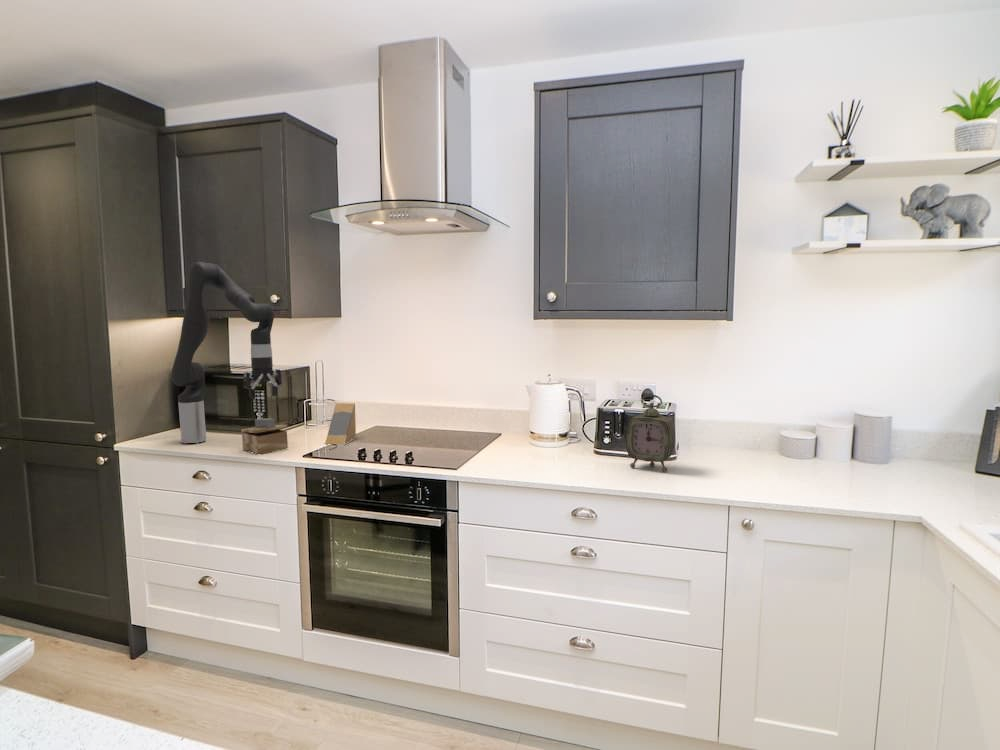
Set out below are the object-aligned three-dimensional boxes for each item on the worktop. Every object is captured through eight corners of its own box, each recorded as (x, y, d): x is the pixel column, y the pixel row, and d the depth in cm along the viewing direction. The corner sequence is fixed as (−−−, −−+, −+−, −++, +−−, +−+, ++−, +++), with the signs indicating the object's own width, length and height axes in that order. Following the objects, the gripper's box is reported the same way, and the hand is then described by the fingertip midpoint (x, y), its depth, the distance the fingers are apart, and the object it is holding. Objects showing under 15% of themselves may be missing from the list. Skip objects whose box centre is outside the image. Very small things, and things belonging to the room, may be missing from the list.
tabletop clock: (625, 468, 192) (626, 394, 189) (633, 462, 200) (634, 391, 197) (668, 474, 184) (670, 397, 182) (675, 467, 192) (677, 394, 189)
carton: (243, 450, 224) (242, 432, 223) (272, 444, 233) (270, 427, 232) (258, 454, 216) (257, 436, 215) (287, 448, 225) (286, 431, 224)
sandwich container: (323, 446, 230) (321, 409, 228) (336, 437, 245) (335, 403, 243) (344, 446, 229) (342, 409, 227) (356, 437, 244) (355, 403, 243)
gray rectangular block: (255, 427, 225) (254, 419, 225) (262, 426, 227) (261, 418, 227) (268, 428, 218) (267, 419, 218) (275, 426, 221) (274, 418, 220)
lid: (241, 432, 223) (241, 429, 223) (271, 426, 232) (271, 424, 232) (257, 432, 215) (256, 430, 215) (287, 427, 224) (287, 424, 224)
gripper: (273, 354, 227) (275, 394, 229) (238, 356, 216) (240, 398, 218) (283, 355, 223) (285, 396, 224) (248, 357, 212) (250, 400, 214)
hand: (263, 397), depth 221 cm, fingers open, 8 cm apart
